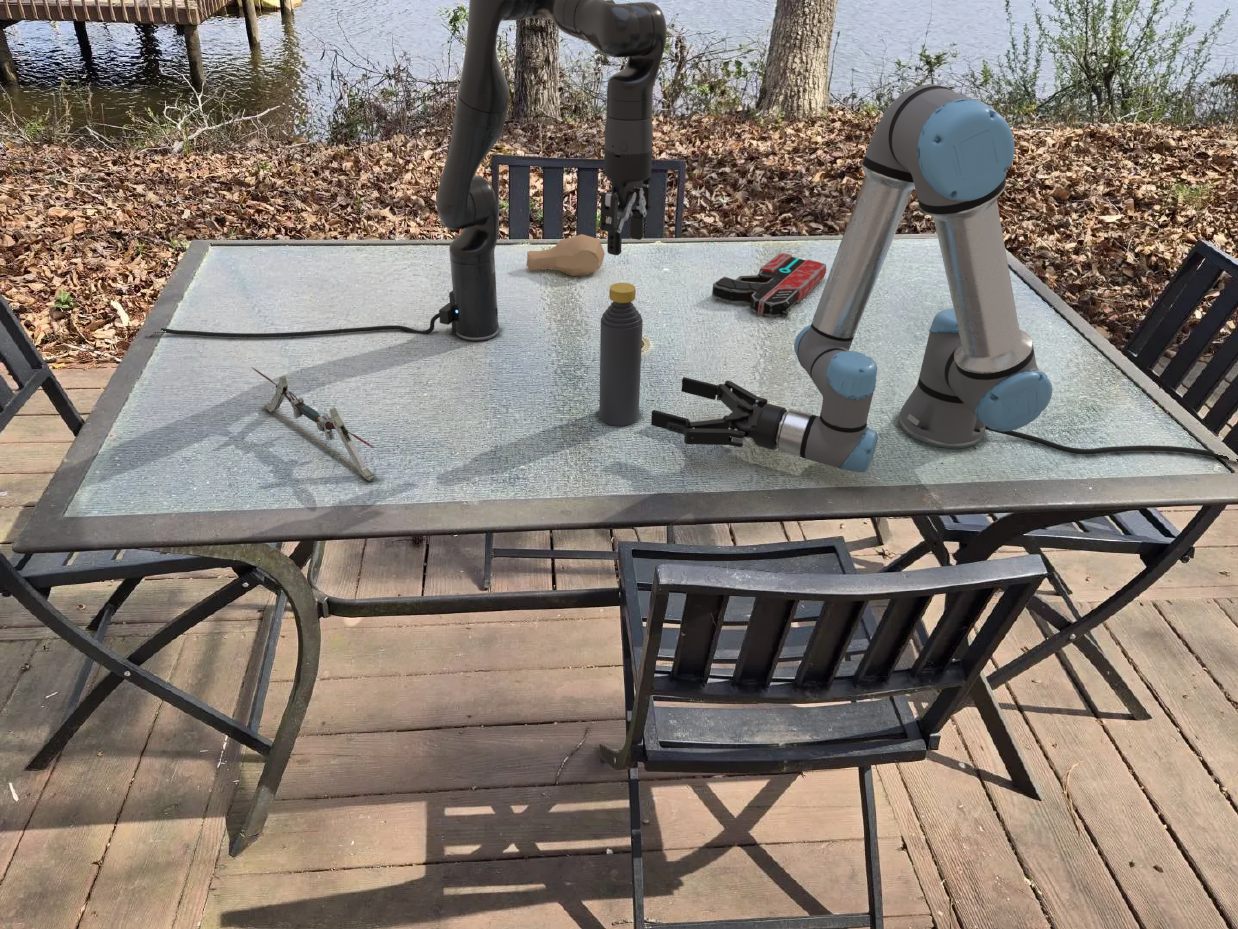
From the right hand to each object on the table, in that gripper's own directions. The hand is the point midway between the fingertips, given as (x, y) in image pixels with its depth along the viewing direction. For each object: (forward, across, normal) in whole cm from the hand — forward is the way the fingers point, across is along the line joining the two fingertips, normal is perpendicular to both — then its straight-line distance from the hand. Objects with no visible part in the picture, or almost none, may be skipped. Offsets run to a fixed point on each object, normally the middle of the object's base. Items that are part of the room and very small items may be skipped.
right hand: (667, 400), depth 157 cm
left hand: (+10, +1, +26) cm, 28 cm away
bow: (+53, -33, -6) cm, 62 cm away
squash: (+54, +59, -6) cm, 80 cm away
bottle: (+10, +1, -6) cm, 12 cm away
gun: (+4, +73, -6) cm, 73 cm away
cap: (+10, +1, +19) cm, 21 cm away
